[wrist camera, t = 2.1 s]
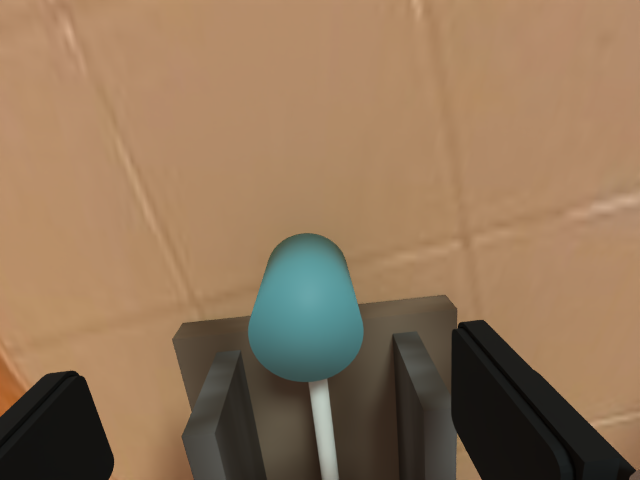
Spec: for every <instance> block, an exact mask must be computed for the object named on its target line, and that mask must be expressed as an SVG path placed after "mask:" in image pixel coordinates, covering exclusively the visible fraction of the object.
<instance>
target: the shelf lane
mask: <svg viewBox="0 0 640 480" xmlns="http://www.w3.org/2000/svg"><path fill="white" fill-rule="evenodd" d="M358 307H359V311H360V314H361V318H362V322H363V341H362V344H361V348H360V350H359V352H358V354H357V355H356V357H355V359H354V360H353V361H352V362H351V363H350V364H349V365H348V366H347V367H346V368H345V369H344V370H342V371H341V372H339V373H338V374H336V375H334V376H332V377H329V378H327V381H328V390H329V398H330V407H331V415H332V424H333V432H334V441H335V449H336V457H337V466H338V474H339V480H456V446H457V432H456V430H455V427H454V425H453V421H452V417H451V349H452V330H453V329H457V308H456V307H455V306H454V304H453V303H452V302H451V301H450V300H449V298H448V297H447V296H446V295H442V296H432V297H423V298H414V299H404V300H395V301H386V302H376V303H367V304H358ZM250 318H251V316H246V317H236V318H227V319H218V320H208V321H199V322H190V323H183V324H182V325H181V327H180V328H179V330H178V331H177V333H176V334H175V336H174V337H173V339H172V341H173V344H174V348H175V352H176V355H177V359H178V363H179V367H180V370H181V374H182V378H183V381H184V385H185V389H186V392H187V396H188V400H189V403H190V407H191V411H192V413H191V416H190V418H189V420H188V423H187V425H186V428H185V430H184V432H183V435H182V440H183V443H184V447H185V450H186V454H187V457H188V461H189V464H190V467H191V471H192V474H193V478H194V480H322V476H321V469H320V462H319V455H318V448H317V440H316V433H315V426H314V419H313V412H312V404H311V397H310V390H309V383H308V382H297V381H291V380H288V379H284V378H282V377H279V376H277V375H275V374H274V373H272V372H270V371H269V370H268V369H266V368H265V367H264V366H263V365H262V364H261V363H260V362H259V361H258V359H257V358H256V356H255V355H254V353H253V351H252V349H251V346H250V343H249V337H248V326H249V321H250Z"/></svg>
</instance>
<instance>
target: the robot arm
mask: <svg viewBox="0 0 640 480" xmlns="http://www.w3.org/2000/svg"><path fill="white" fill-rule="evenodd" d="M451 417H452V421H453V425H454V427H455V430H456V432H457V434H458V435H459V437H460V439H461V441H462V443H463V445H464V447H465V449H466V451H467V452H468V454H469V456H470V458H471V460H472V462H473V464H474V466H475V468H476V469H477V471H478V473H479V475H480V477H481V479H482V480H640V470H637V471H636V470H635V469H634V468H633V467H632V466H631V465H630V464H629V463H628V462H627V461H626V460H625V459H624V458H623V457H622V456H621V455H620V454H619V453H618V452H617V451H616V450H615V449H614V448H613V447H612V446H611V445H610V444H609V443H608V442H607V441H606V440H605V439H604V438H603V437H602V436H601V435H600V434H599V433H598V432H597V431H596V430H595V429H594V428H593V427H592V426H591V425H590V424H589V423H588V422H587V421H586V420H585V419H584V418H583V417H582V416H581V415H580V414H579V413H578V412H577V411H576V410H575V409H574V408H573V407H572V406H571V405H570V404H569V403H568V402H567V401H566V400H565V399H564V398H563V397H562V396H561V395H560V394H559V393H558V392H557V391H556V390H555V389H554V388H553V387H552V386H551V385H550V384H549V383H548V382H547V381H546V380H545V379H544V378H543V377H542V376H541V375H540V374H539V373H537V372H536V371H535V370H533V369H532V368H531V367H530V366H529V365H528V364H527V363H526V362H525V361H524V360H523V359H522V358H521V357H520V356H519V355H518V354H517V353H516V352H515V351H514V350H513V349H512V348H511V347H510V346H509V345H508V344H507V343H506V342H505V341H504V340H503V339H502V338H501V337H500V336H499V335H498V334H497V333H496V332H495V331H494V330H493V329H492V328H491V327H490V326H489V325H488V324H487V323H486V322H485V321H484V320H476V321H468V322H460V323H459V325H458V329H453V330H452V349H451ZM113 468H114V457H113V454H112V451H111V448H110V445H109V443H108V440H107V437H106V434H105V432H104V429H103V426H102V423H101V421H100V418H99V415H98V412H97V410H96V407H95V404H94V401H93V398H92V396H91V393H90V390H89V387H88V385H87V382H86V380H85V378H84V377H83V376H79V374H78V373H77V372H76V371H65V372H57V373H50V374H46V375H45V376H43V377H42V378H41V379H40V380H39V381H38V382H37V383H36V384H35V385H34V386H33V387H32V388H31V389H29V390H28V391H27V392H26V393H25V394H24V395H23V396H22V397H21V398H20V399H19V400H18V401H17V402H16V403H15V404H14V405H13V406H11V407H10V408H9V409H8V410H7V411H6V412H5V413H4V414H3V415H2V416H1V417H0V480H109V478H110V476H111V474H112V471H113Z"/></svg>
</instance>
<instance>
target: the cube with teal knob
mask: <svg viewBox="0 0 640 480" xmlns="http://www.w3.org/2000/svg"><path fill="white" fill-rule="evenodd" d="M248 337H249V343H250V346H251V349H252V351H253V353H254V355H255V356H256V358H257V359H258V361H259V362H260V363H261V364H262V365H263V366H264V367H265V368H266V369H268V370H269V371H270V372H272V373H274V374H275V375H277V376H279V377H282V378H284V379H288V380H291V381H297V382H308V383H309V390H310V397H311V404H312V412H313V419H314V426H315V433H316V440H317V448H318V455H319V462H320V469H321V476H322V480H339V474H338V466H337V457H336V449H335V441H334V432H333V424H332V415H331V407H330V398H329V390H328V381H327V378H329V377H332V376H334V375H336V374H338V373H339V372H341V371H342V370H344V369H345V368H346V367H347V366H348V365H349V364H350V363H351V362H352V361H353V360H354V359H355V357H356V355H357V354H358V352H359V350H360V348H361V344H362V341H363V322H362V318H361V314H360V311H359V307H358V303H357V300H356V296H355V292H354V289H353V285H352V281H351V278H350V274H349V270H348V267H347V263H346V260H345V257H344V255H343V253H342V251H341V250H340V249H339V247H338V246H337V245H336V244H335V243H333V242H332V241H331V240H329V239H327V238H325V237H323V236H320V235H317V234H310V233H304V234H297V235H294V236H291V237H289V238H287V239H285V240H283V241H282V242H281V243H280V244H278V245H277V247H276V248H275V249H274V250H273V252H272V253H271V255H270V258H269V260H268V264H267V267H266V270H265V273H264V276H263V279H262V283H261V286H260V289H259V292H258V295H257V299H256V302H255V305H254V308H253V311H252V314H251V318H250V321H249V326H248Z"/></svg>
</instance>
